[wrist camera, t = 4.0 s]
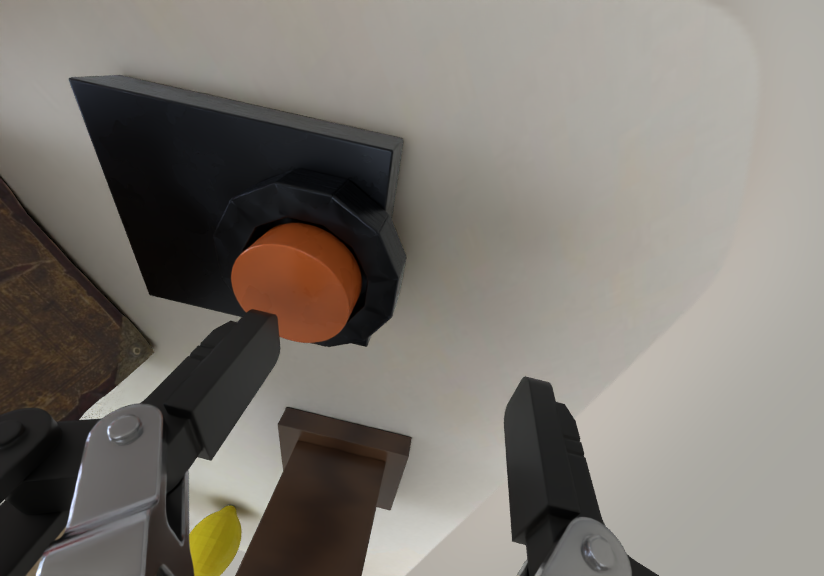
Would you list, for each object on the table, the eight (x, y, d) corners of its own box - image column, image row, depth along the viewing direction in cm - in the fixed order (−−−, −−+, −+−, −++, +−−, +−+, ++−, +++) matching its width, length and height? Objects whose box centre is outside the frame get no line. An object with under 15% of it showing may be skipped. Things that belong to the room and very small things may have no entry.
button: (367, 237, 12) (352, 261, 11) (358, 325, 15) (345, 354, 13) (250, 210, 12) (220, 230, 11) (261, 302, 15) (239, 328, 13)
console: (432, 144, 13) (418, 172, 10) (396, 325, 19) (380, 380, 16) (119, 74, 14) (8, 79, 10) (178, 273, 19) (119, 317, 16)
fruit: (218, 512, 42) (171, 595, 35) (203, 492, 39) (149, 580, 32) (259, 520, 41) (219, 607, 35) (248, 500, 38) (202, 592, 32)
